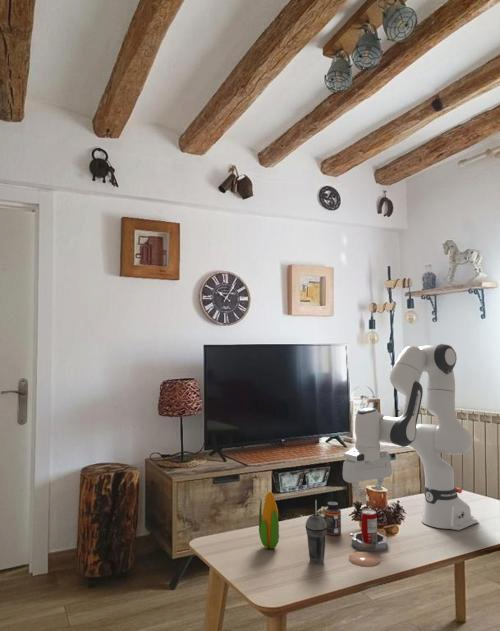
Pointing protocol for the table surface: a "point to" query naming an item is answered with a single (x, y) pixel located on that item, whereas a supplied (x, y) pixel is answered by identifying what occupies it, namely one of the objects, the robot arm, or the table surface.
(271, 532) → the corn
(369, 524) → the soda can
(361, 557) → the peach dome
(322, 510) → the fruit
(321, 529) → the beverage cup
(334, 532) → the supplement bottle
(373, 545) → the collar
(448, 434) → the robot arm
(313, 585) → the table surface
